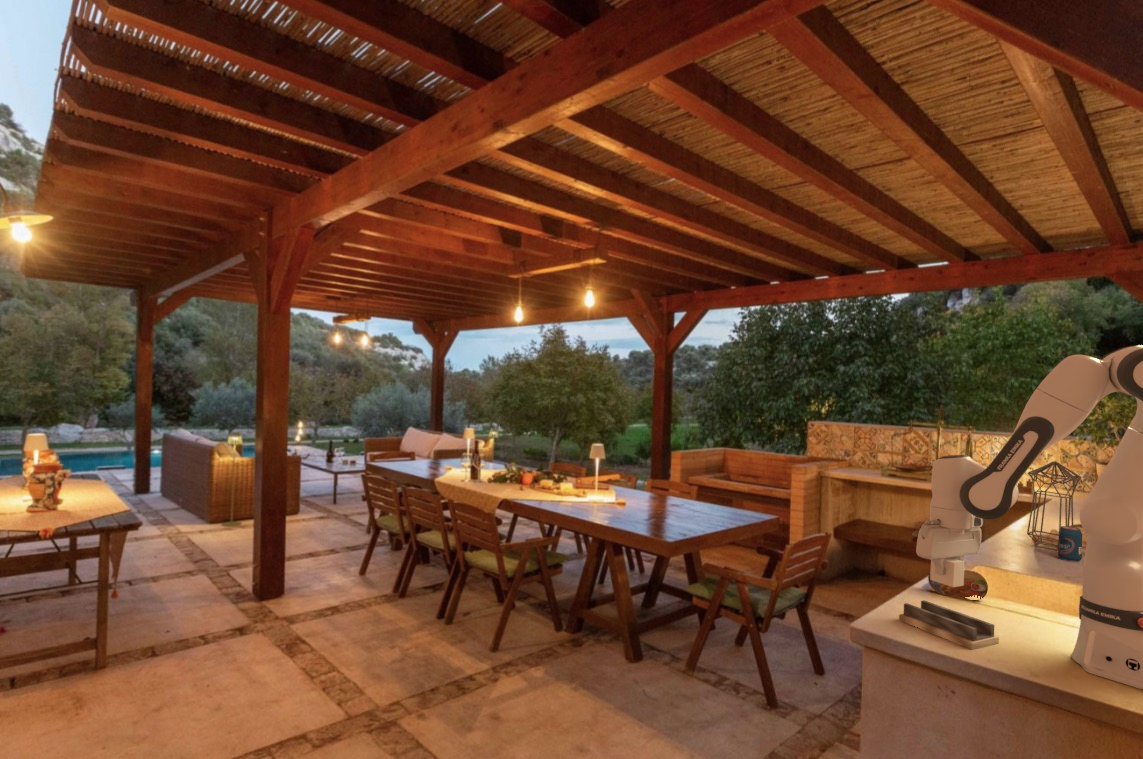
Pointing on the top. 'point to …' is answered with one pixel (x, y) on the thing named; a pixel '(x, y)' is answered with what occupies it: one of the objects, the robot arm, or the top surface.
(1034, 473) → the geometric lantern
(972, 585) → the tin
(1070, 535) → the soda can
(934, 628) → the rail board
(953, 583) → the block
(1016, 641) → the top surface
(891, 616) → the top surface
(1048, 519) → the top surface
